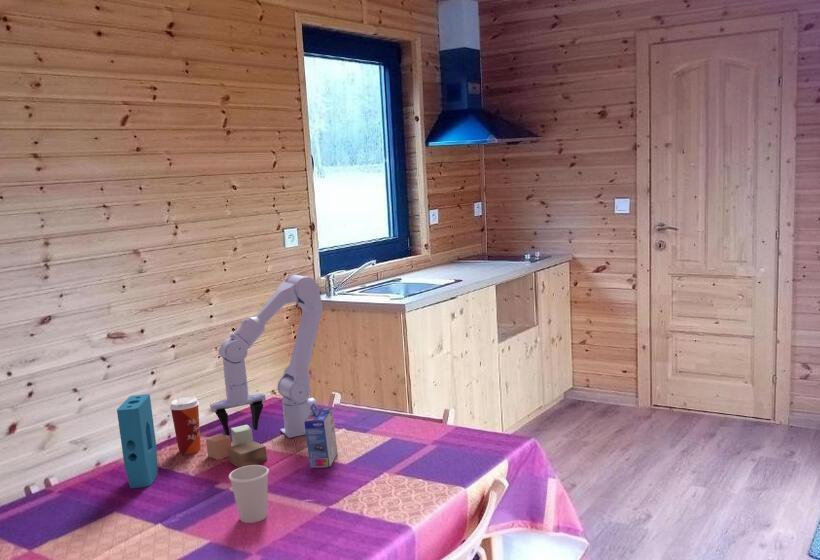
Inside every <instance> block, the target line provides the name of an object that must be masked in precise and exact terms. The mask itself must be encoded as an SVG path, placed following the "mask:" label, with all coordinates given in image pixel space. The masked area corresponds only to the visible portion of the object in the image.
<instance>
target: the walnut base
mask: <svg viewBox="0 0 820 560" xmlns="http://www.w3.org/2000/svg"><path fill="white" fill-rule="evenodd" d="M228 455H229V456H228V461H229V463H231V464H233V465H234V466H236V467H238V468H240V467H244V466H249V465H259V464H261V463H263V462H266V461H268V455H267V448H266V445H264V444H261V443H259V442H257V441H255V440H254V439H253V440H251V441H248V442H245V443H242V444H239V445H236V446H233V445H231V447H229V448H228Z"/></svg>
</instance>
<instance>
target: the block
mask: <svg viewBox="0 0 820 560" xmlns="http://www.w3.org/2000/svg"><path fill="white" fill-rule="evenodd" d="M116 413H117V420H118V429H119V437H120V442H121V452H122V457H123V464H124V468H125V474H126V476H127V482H128V484H129V489H137V488H138V489H139V488H146V487H149V486H152V484H153V482H154V481H155V479H156V478H157V476H158V475H159V472H158V471H159V468H158V466H159V465H158V454H157V453H158V451H157V449H158V448H157V440H156V433H155V432H156V431H155V425H154V418H153V409H152V402H151V395H150V394H149V393H148V394H146V393H145V394H136V395H131V396H130V395H129V396H128V398H127V399H125V400H124V401H123V403H122V404H121V405H119V406H118V407H117V409H116Z"/></svg>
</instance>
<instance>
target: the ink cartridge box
mask: <svg viewBox="0 0 820 560" xmlns="http://www.w3.org/2000/svg"><path fill="white" fill-rule="evenodd" d="M314 407H315V408H316V409H313V408H314ZM310 409H311V410H312V411H311V413H310V414H309V416H308V417H307V419H306V420H305V422H304V423H305V431H306V434H305V437H306V445H307V453H308V459H309V468H310V469H314V468H315V469H317V468H319V469H320V468H322V469H323V468H330V467H332V464H333V462H334V460H335V459H336V456H337V455H338V446H337V445H338V444H337V443H338V442H337V437H336V435H337V434H336V431H335V430H336V429H335V428H336V427H335V419H334V413H333V407H325V408H323V407H322V408H320V407H318V408H317V407H316V405H315V404H314V403H313V404H312V406H311V407H310Z"/></svg>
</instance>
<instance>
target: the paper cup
mask: <svg viewBox="0 0 820 560" xmlns="http://www.w3.org/2000/svg"><path fill="white" fill-rule="evenodd" d="M199 405H200V402H199V401H198V398H197V397H193V396H187V397H186V396H185V397H179V398H177V399H176V398H175V399H173V400H172V401H171V402H170V406H169V409H170V411H171V417H172V421H173V428H174V432H175V438H176V444H177V448H178V453H179V454H180V455H192V454H195V453H198V452H200V451H201V431H200V415H199V414H200V413H199V412H200V411H199V410H200V409H199Z"/></svg>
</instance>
